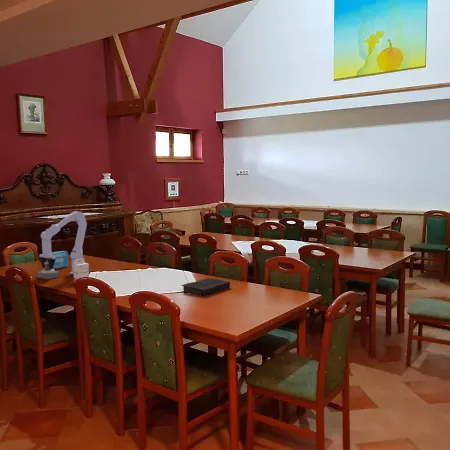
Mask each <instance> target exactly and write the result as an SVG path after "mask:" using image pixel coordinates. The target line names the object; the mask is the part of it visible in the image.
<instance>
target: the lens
mask: <svg viewBox="0 0 450 450" xmlns="http://www.w3.org/2000/svg"><path fill="white" fill-rule="evenodd" d="M44 263H45V268H44V269H45V271H50V270H52V269H50V268H49V263H48V260H47V262H44Z"/></svg>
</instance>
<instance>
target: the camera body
mask: <svg viewBox="0 0 450 450" xmlns="http://www.w3.org/2000/svg"><path fill="white" fill-rule="evenodd" d="M36 276H37V278H39V279H44V280H50V279H52V280H53V279H56V278H59V277H60V271H57V270H56V269H55V268H53V269H52V270H50V271H45V268H43V269H42V270H40V271H37V272H36Z"/></svg>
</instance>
